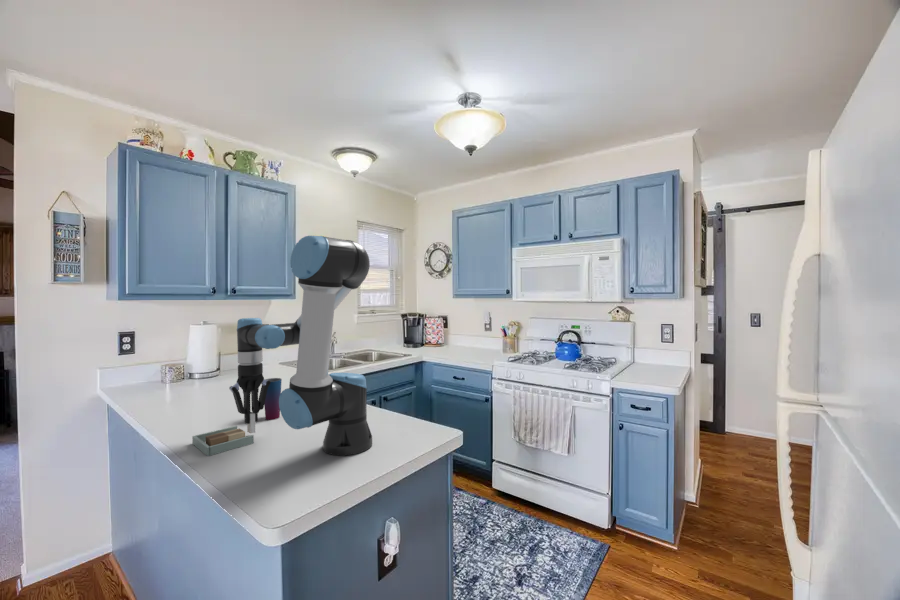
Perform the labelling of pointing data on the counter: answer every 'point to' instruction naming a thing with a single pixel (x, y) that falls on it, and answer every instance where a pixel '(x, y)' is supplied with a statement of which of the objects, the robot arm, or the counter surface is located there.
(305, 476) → the counter surface
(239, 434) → the oak tile
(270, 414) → the cup
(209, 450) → the box
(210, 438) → the walnut tile
